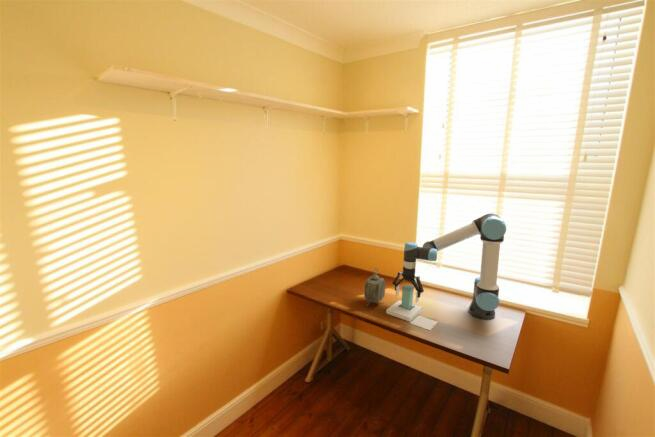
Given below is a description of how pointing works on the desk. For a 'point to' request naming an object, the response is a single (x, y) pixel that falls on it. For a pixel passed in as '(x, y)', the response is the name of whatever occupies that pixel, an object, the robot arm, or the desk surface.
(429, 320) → the pad
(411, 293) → the teal square pillar
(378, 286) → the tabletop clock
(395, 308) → the white square socket base
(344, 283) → the desk surface
